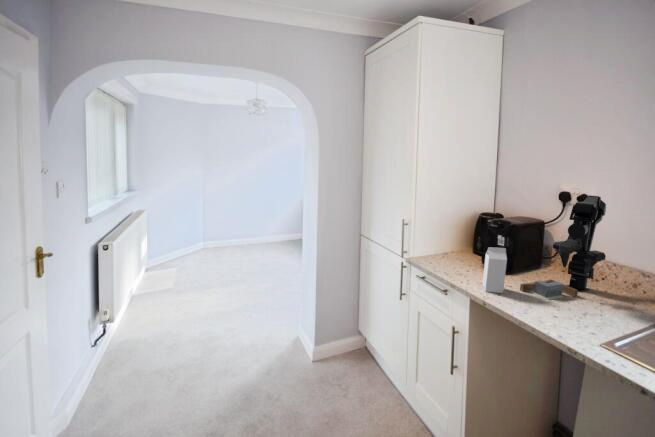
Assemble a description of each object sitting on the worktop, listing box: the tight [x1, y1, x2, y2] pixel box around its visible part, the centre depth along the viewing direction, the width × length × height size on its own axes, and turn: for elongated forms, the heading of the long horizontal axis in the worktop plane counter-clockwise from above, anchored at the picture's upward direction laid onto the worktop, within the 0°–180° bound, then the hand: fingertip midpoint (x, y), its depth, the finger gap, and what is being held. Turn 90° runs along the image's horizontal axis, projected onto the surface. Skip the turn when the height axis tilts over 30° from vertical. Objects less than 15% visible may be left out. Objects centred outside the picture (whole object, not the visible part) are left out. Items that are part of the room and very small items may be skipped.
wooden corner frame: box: [519, 279, 579, 298], centre depth 160 cm, size 18×13×3 cm
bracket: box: [533, 280, 564, 299], centre depth 159 cm, size 9×6×5 cm, turn 108°
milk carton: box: [482, 246, 508, 294], centre depth 162 cm, size 7×7×19 cm
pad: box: [529, 290, 565, 300], centre depth 160 cm, size 9×9×1 cm
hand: (574, 270), depth 154 cm, fingers open, 9 cm apart
